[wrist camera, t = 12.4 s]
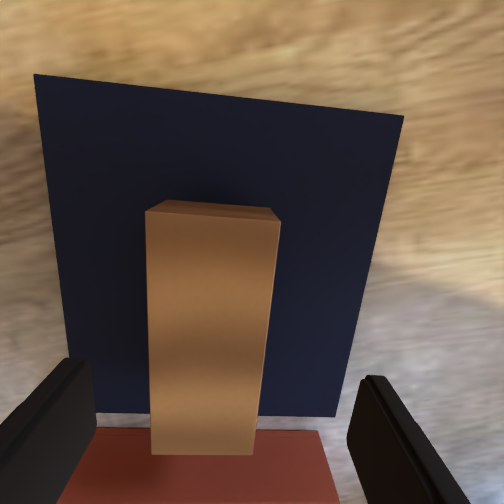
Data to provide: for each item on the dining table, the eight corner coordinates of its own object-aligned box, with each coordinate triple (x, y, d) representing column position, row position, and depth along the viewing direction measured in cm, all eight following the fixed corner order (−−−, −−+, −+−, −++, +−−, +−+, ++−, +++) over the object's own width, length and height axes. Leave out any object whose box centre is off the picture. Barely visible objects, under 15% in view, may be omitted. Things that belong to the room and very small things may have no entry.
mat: (43, 78, 14) (32, 73, 13) (396, 118, 15) (404, 115, 14) (82, 402, 19) (76, 412, 19) (331, 408, 21) (335, 417, 20)
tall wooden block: (173, 195, 15) (144, 210, 10) (266, 203, 15) (281, 221, 10) (172, 379, 18) (150, 455, 14) (248, 381, 19) (252, 455, 14)
